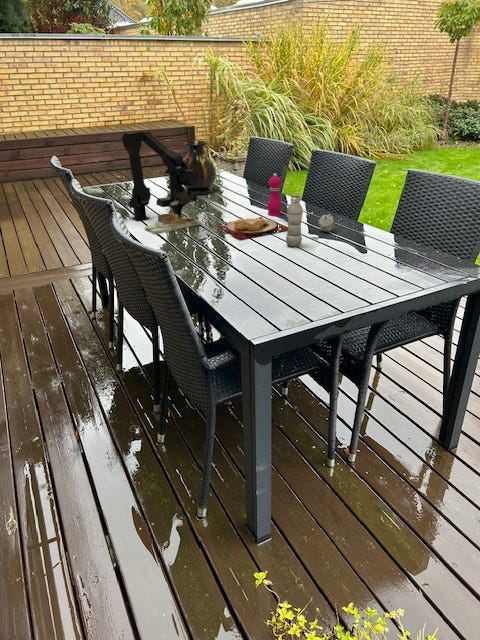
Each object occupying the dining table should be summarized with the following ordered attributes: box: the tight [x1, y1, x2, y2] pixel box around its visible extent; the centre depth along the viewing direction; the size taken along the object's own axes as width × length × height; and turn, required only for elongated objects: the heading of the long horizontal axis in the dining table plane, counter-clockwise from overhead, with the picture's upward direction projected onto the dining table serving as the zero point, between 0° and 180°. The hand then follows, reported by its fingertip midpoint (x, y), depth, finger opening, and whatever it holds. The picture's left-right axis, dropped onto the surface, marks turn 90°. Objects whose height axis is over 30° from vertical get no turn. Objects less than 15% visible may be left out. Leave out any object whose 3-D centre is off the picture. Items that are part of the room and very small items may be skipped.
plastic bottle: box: [285, 195, 304, 247], centre depth 195 cm, size 6×7×20 cm
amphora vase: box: [180, 140, 217, 196], centre depth 279 cm, size 22×22×28 cm
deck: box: [144, 216, 201, 235], centre depth 224 cm, size 9×24×4 cm, turn 129°
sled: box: [154, 211, 178, 228], centre depth 221 cm, size 6×9×4 cm, turn 129°
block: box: [157, 213, 172, 225], centre depth 220 cm, size 4×4×4 cm
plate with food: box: [218, 216, 288, 240], centre depth 221 cm, size 25×26×4 cm
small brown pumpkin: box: [315, 212, 338, 233], centre depth 213 cm, size 9×8×10 cm
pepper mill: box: [266, 173, 283, 217], centre depth 237 cm, size 7×7×20 cm
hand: (178, 218), depth 225 cm, fingers closed
